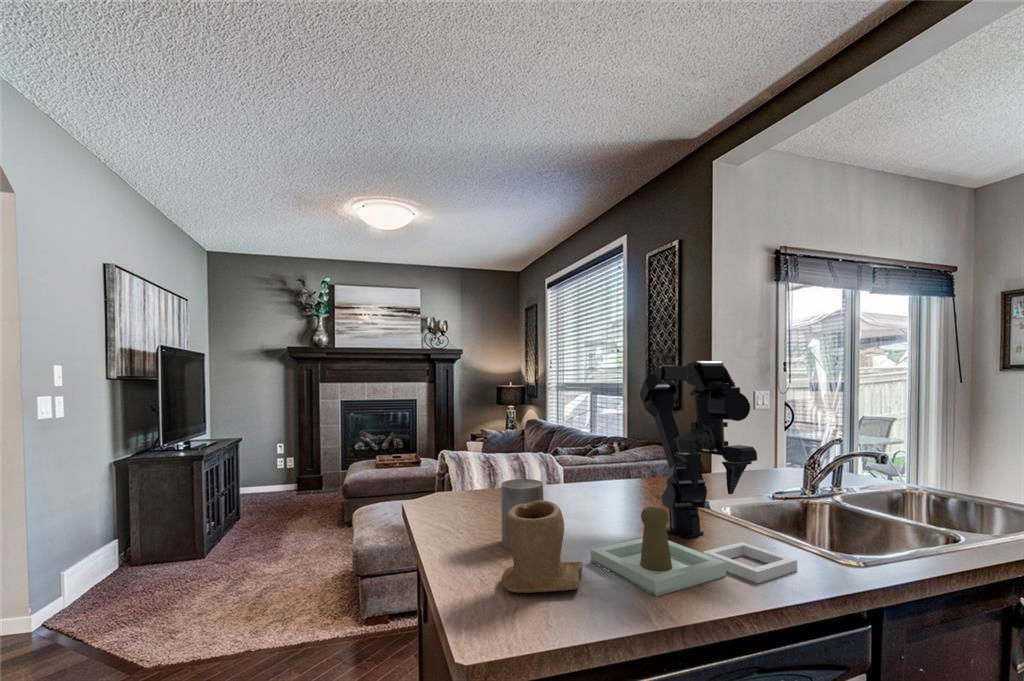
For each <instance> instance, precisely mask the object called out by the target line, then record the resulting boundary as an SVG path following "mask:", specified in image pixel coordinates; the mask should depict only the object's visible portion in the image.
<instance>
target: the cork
mask: <svg viewBox="0 0 1024 681" xmlns="http://www.w3.org/2000/svg"><path fill="white" fill-rule="evenodd" d="M640 518H641V521H642V523H643V533H642V538H643V542H642V552H641V561H640V565H641V566H642V567H643V568H645V569H648V570H651V571H660V572H662V571H668V570H671V569H672V562H671V556H670V550H669V544H668V540H669V539H668V532H667V531H666V529H667V527H666V526H667V525H668V523H669V513H668V512H667V511H666V509H664V508H662V507H657V506H648V507H644V508H643V509H642V511H641V513H640Z"/></svg>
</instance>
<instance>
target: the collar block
mask: <svg viewBox="0 0 1024 681" xmlns="http://www.w3.org/2000/svg"><path fill="white" fill-rule="evenodd" d="M702 553H703V554H706V555H708V556H711V557H713V558H716V559H719V560H721V561H724V562H726V572H728V573H731V574H733V575H734V576H735V575H736V576H738V577H741V578H742V579H746V580H748V581H751V582H753V583H756V584H760V583H764V582H766V581H770V580H773V579H776V578H780V577H783V576H785V575H789V574H792V573H795V571H796V572H798V571H797V570H798V560H797V559H794V558H792V557H789V556H785V555H782V554H780V553H777V552H773V551H771V550H767V549H765V548H762V547H758V546H755V545H752V544H749V543H747V542H743V541H741V542H737V543H733V544H728V545H724V546H721V547H716V548H712V549H707V550H705V551H703V552H702ZM742 556H746V557H749V558H750V559H751V558H752V559H753V560H756V559H757V561H759V560H760V562H763V563H764V564H762V565H760V566H759V565H758V566H756V567H753V566H751V565H749V564H746V563H743V562H740V561H739V560H735V559H734V558H737V557H742ZM791 572H792V573H791Z"/></svg>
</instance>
